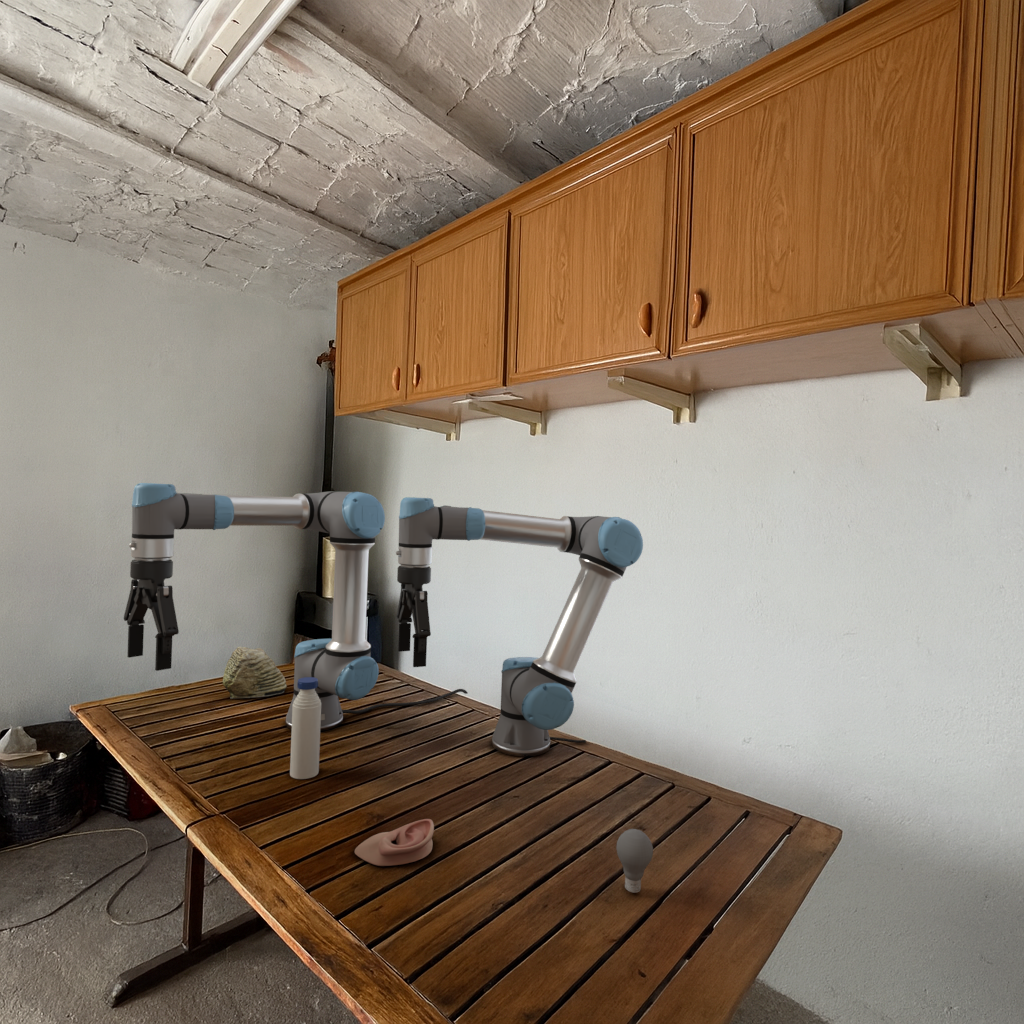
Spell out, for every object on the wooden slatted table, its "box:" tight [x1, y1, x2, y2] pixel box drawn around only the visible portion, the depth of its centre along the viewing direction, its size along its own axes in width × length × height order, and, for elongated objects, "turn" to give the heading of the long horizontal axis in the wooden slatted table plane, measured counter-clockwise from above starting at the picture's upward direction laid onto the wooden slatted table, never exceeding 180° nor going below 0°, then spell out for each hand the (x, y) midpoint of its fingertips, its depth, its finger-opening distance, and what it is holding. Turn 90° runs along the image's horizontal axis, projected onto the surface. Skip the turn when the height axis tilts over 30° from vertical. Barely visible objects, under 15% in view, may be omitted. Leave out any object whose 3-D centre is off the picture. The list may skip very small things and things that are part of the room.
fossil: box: [222, 646, 288, 699], centre depth 198 cm, size 9×18×15 cm, turn 132°
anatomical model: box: [354, 818, 435, 867], centre depth 115 cm, size 13×4×12 cm
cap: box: [297, 677, 318, 690], centre depth 144 cm, size 4×4×2 cm
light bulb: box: [615, 828, 654, 894], centre depth 106 cm, size 6×6×10 cm
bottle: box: [289, 689, 321, 780], centre depth 144 cm, size 6×6×21 cm
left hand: (148, 662), depth 129 cm, fingers open, 13 cm apart
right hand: (411, 658), depth 144 cm, fingers open, 13 cm apart
